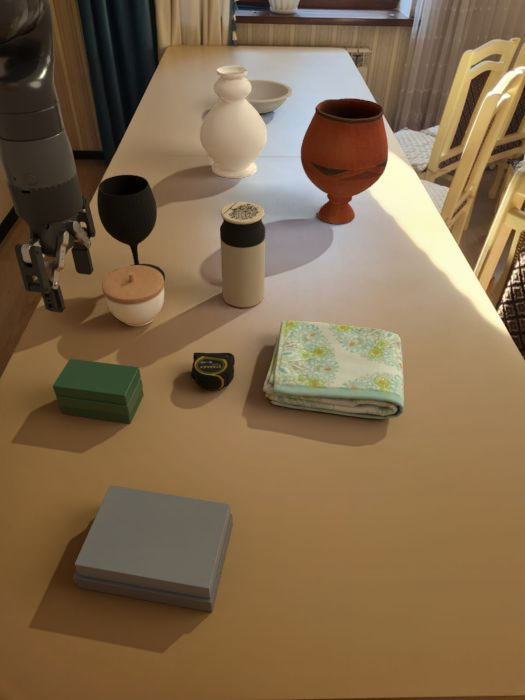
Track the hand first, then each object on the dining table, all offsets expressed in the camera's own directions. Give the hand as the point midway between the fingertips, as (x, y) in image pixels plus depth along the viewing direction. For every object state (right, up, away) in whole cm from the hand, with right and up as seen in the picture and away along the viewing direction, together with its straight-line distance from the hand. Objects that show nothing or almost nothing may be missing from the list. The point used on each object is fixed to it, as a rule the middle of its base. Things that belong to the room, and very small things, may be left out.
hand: (71, 290), depth 70 cm
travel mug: (+21, +3, +34) cm, 41 cm away
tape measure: (+17, -12, +18) cm, 27 cm away
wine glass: (0, +6, +38) cm, 39 cm away
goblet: (+43, +24, +59) cm, 77 cm away
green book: (0, -13, +10) cm, 17 cm away
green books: (0, -16, +13) cm, 21 cm away
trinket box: (+2, -2, +30) cm, 30 cm away
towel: (+37, -12, +18) cm, 43 cm away
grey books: (+12, -32, -5) cm, 35 cm away
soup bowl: (+23, +74, +115) cm, 139 cm away
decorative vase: (+17, +42, +79) cm, 91 cm away
